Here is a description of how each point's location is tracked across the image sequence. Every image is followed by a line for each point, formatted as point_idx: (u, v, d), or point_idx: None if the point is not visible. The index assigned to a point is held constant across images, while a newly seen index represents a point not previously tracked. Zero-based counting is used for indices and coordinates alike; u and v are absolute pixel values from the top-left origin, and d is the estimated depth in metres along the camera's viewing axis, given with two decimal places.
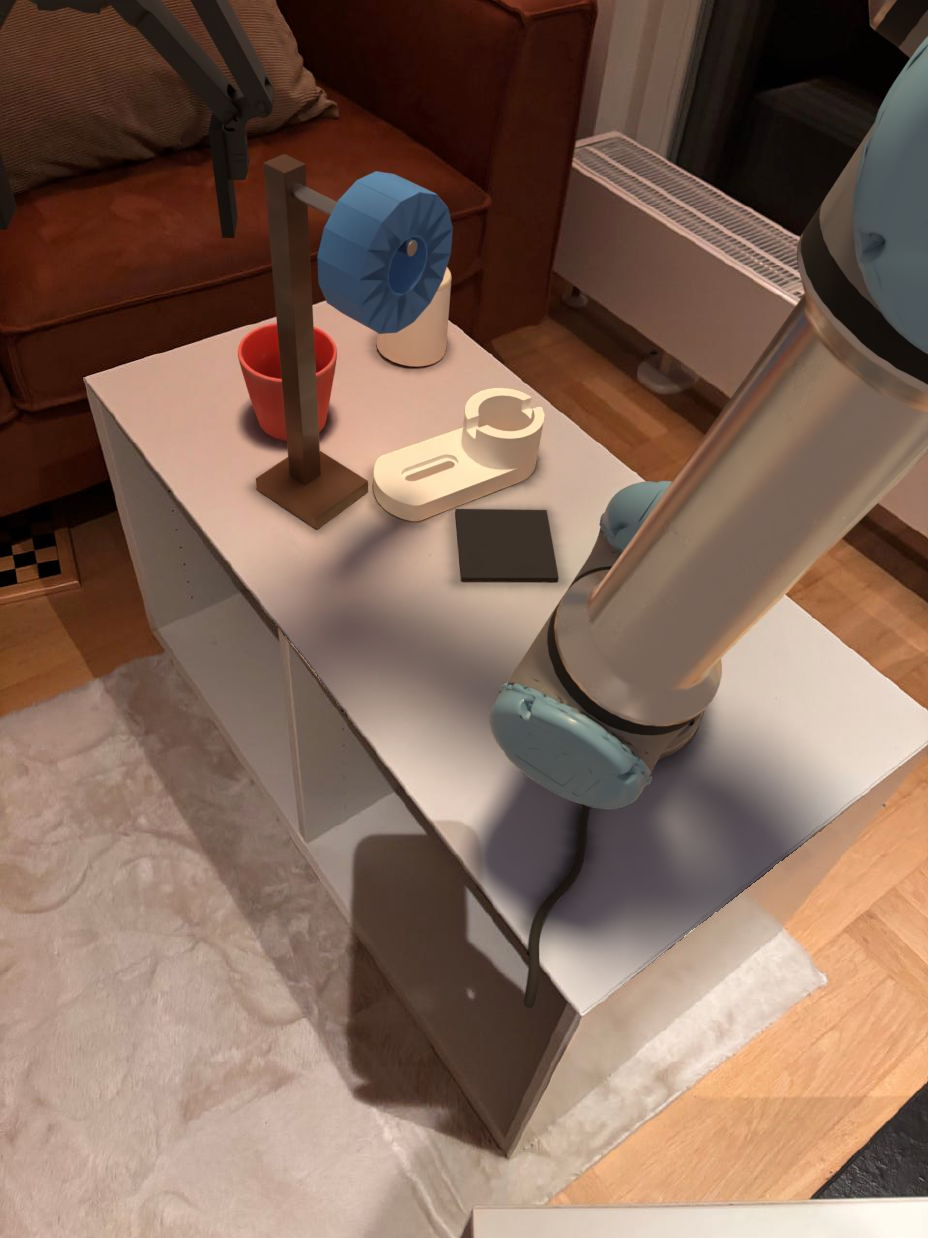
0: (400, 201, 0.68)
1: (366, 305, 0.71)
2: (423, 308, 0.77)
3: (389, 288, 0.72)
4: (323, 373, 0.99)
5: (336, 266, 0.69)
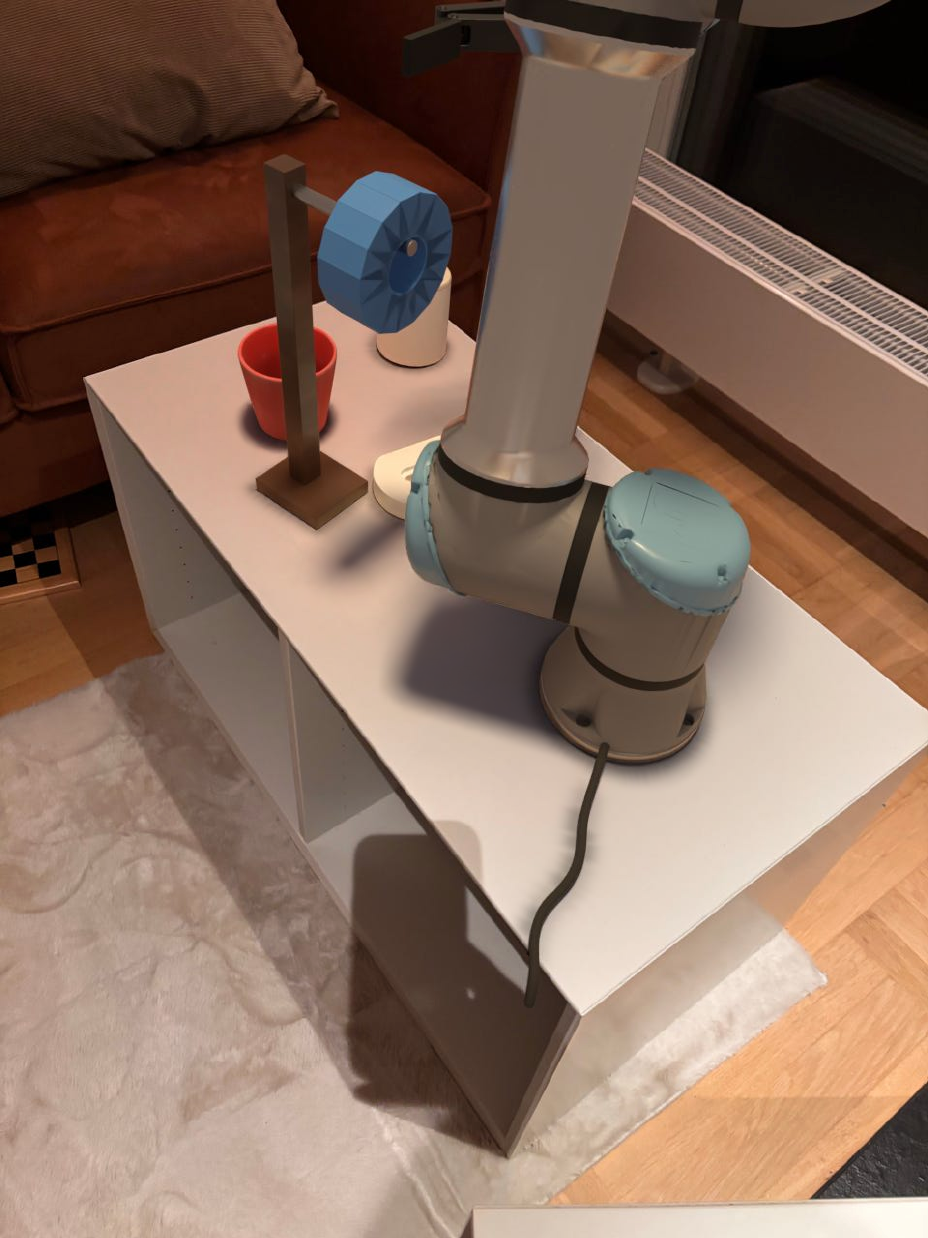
0: (401, 201, 0.68)
1: (366, 305, 0.71)
2: (423, 308, 0.77)
3: (389, 288, 0.72)
4: (323, 373, 0.99)
5: (336, 266, 0.69)
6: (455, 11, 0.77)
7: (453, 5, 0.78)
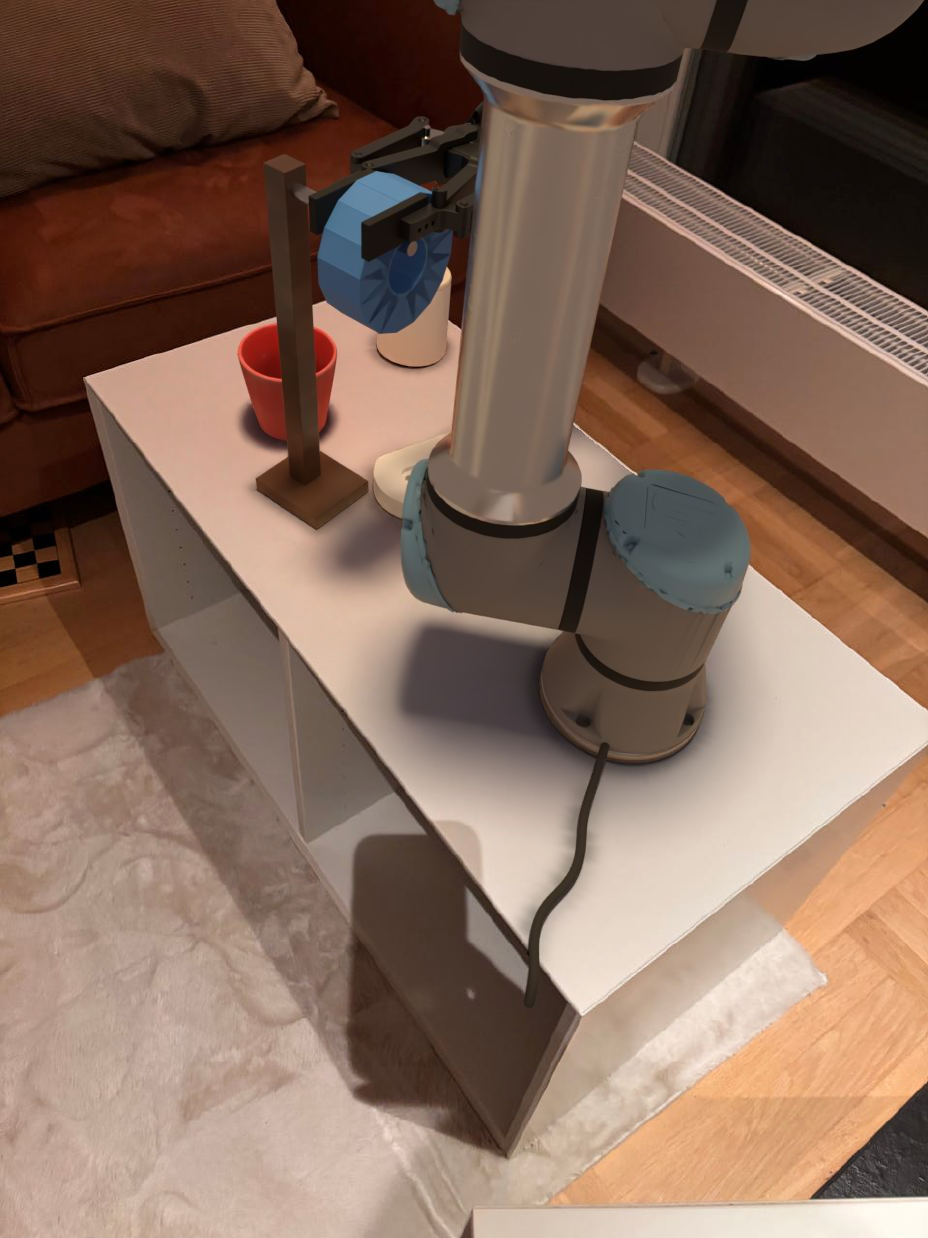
0: (401, 201, 0.68)
1: (366, 305, 0.71)
2: (423, 308, 0.77)
3: (389, 288, 0.72)
4: (323, 373, 0.99)
5: (336, 266, 0.69)
6: (371, 154, 0.73)
7: (364, 148, 0.73)
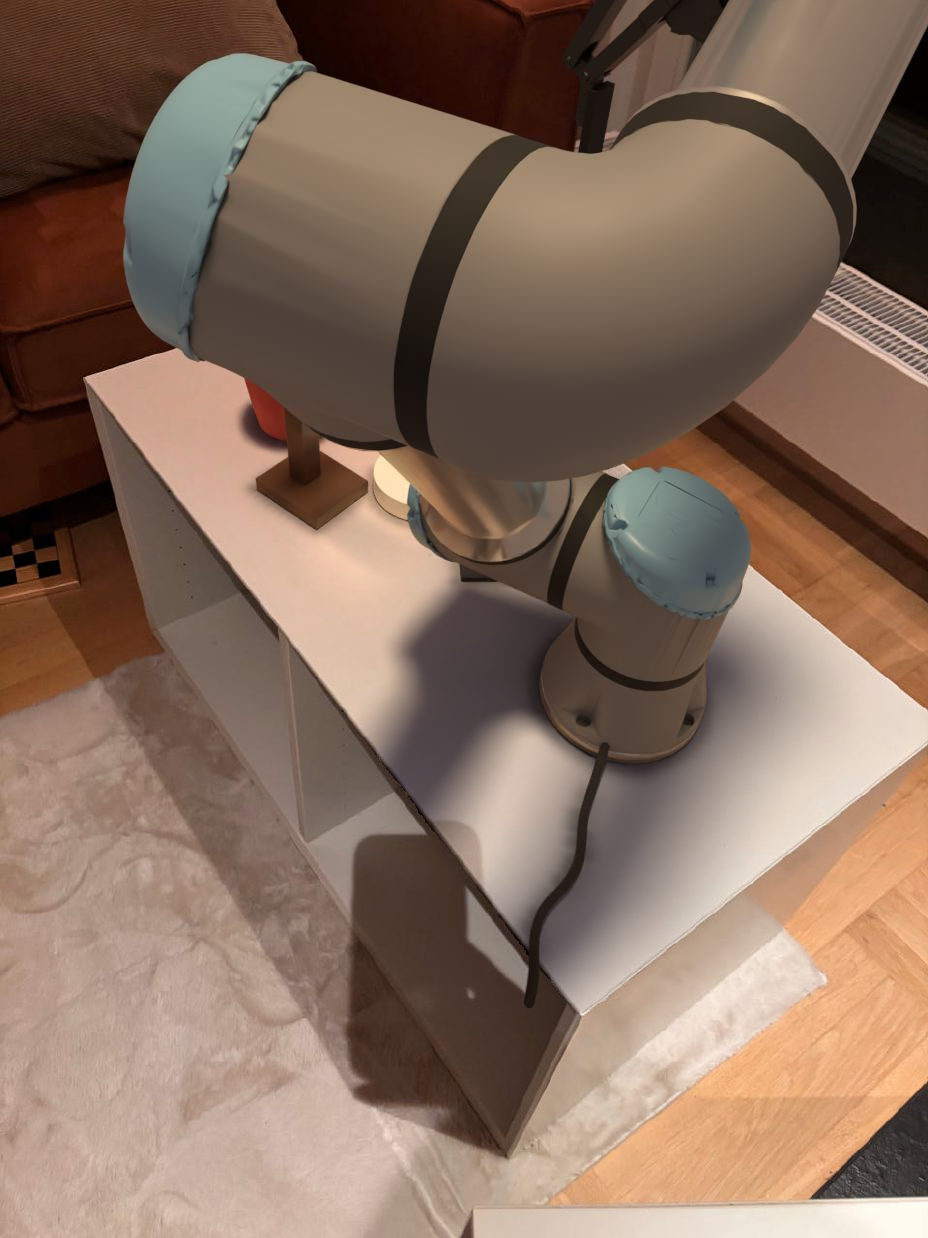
0: None
1: None
2: None
3: None
4: None
5: None
6: (580, 56, 0.72)
7: (573, 45, 0.71)
